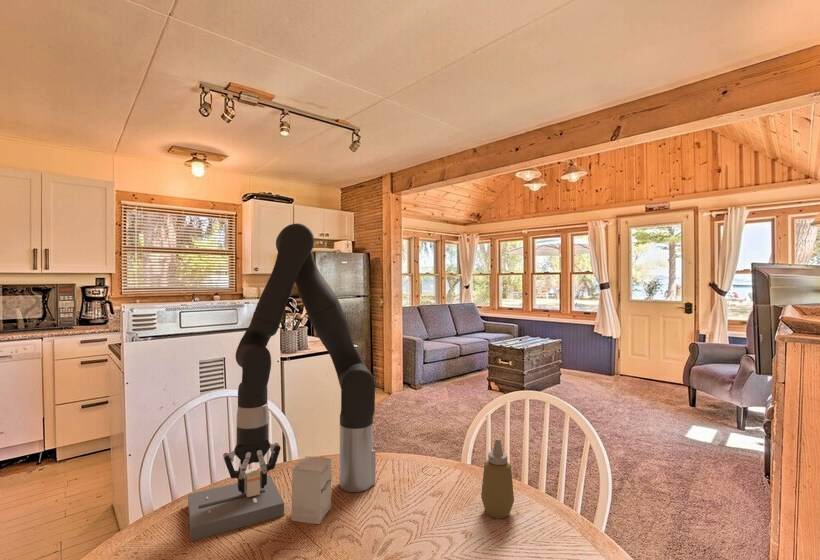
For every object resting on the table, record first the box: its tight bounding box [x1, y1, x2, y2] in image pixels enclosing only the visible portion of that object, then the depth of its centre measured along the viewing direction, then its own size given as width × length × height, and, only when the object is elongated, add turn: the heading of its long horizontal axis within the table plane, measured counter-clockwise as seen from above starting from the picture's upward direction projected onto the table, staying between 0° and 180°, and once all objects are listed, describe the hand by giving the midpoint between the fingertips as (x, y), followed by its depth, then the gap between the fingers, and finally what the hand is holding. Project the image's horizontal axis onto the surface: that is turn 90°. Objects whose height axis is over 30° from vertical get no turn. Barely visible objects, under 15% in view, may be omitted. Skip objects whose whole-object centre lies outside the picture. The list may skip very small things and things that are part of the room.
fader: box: [244, 467, 260, 497], centre depth 103 cm, size 3×4×5 cm
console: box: [187, 475, 285, 542], centre depth 101 cm, size 20×16×3 cm
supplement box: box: [291, 455, 332, 525], centre depth 99 cm, size 7×7×13 cm
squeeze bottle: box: [480, 438, 515, 519], centre depth 101 cm, size 8×8×18 cm
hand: (252, 489), depth 103 cm, fingers open, 4 cm apart
